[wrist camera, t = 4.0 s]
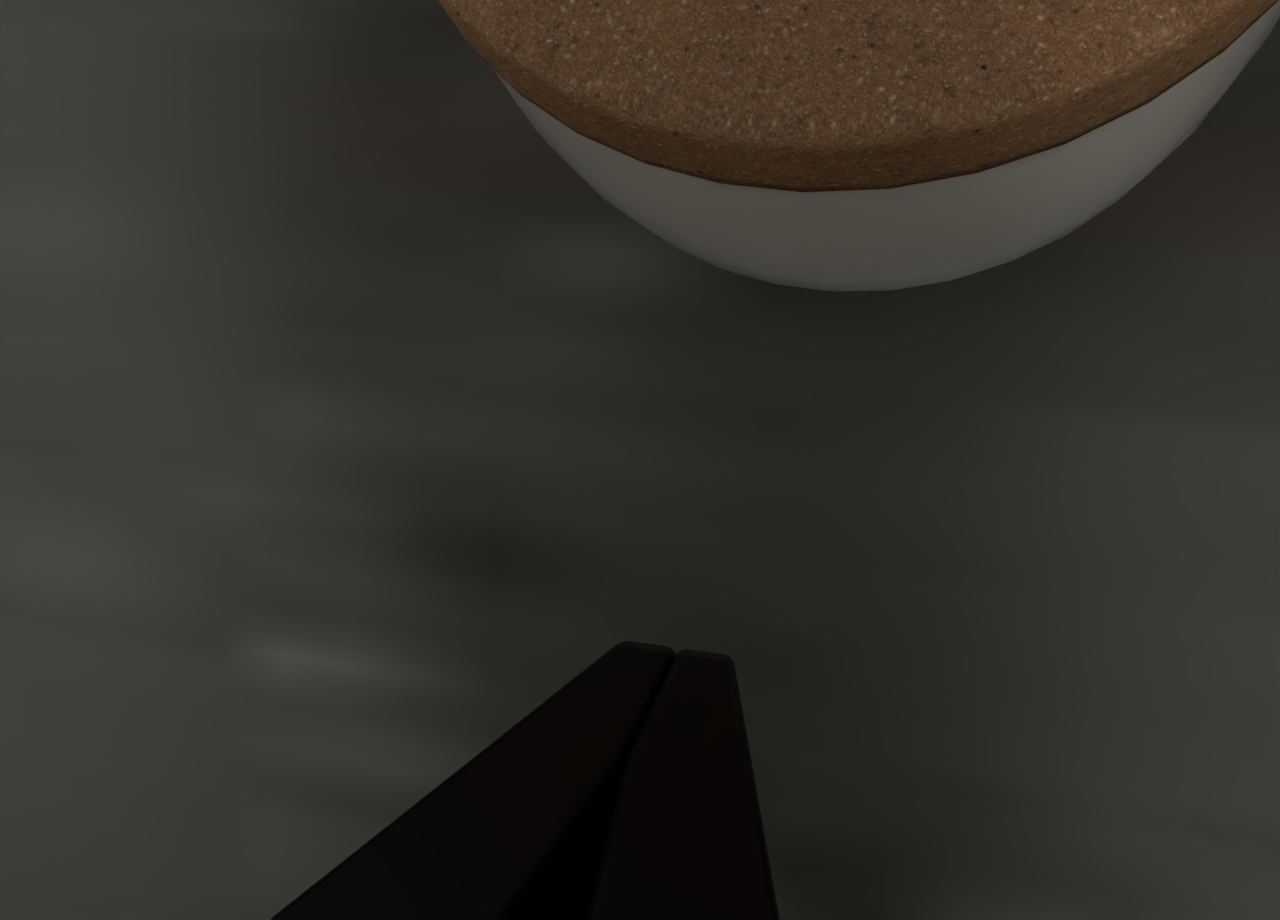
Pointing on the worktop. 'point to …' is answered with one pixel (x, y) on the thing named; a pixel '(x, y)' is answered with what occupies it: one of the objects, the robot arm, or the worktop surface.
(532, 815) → the robot arm
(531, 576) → the worktop surface
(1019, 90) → the lidded jar
